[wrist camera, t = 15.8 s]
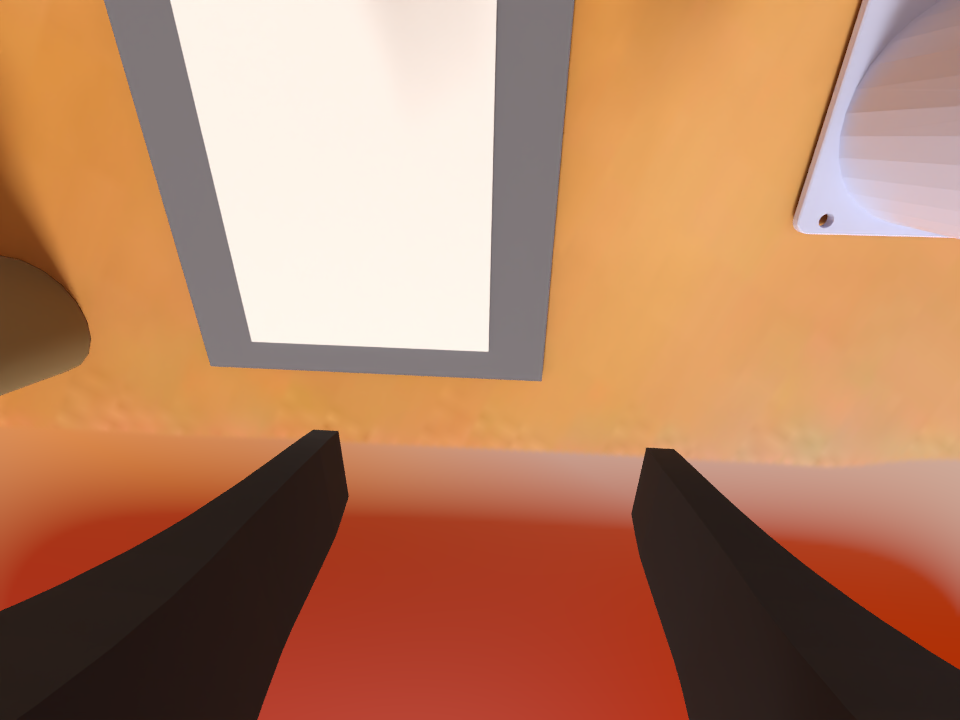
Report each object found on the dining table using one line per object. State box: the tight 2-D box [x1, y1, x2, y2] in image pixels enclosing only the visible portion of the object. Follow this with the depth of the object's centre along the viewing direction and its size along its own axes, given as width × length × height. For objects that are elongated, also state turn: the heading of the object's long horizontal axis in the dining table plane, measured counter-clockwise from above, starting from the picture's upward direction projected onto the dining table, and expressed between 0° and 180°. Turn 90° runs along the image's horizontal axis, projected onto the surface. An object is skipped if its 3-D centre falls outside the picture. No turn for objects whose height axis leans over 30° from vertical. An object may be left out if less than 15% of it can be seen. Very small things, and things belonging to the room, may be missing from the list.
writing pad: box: [104, 0, 574, 381], centre depth 18 cm, size 16×16×1 cm
